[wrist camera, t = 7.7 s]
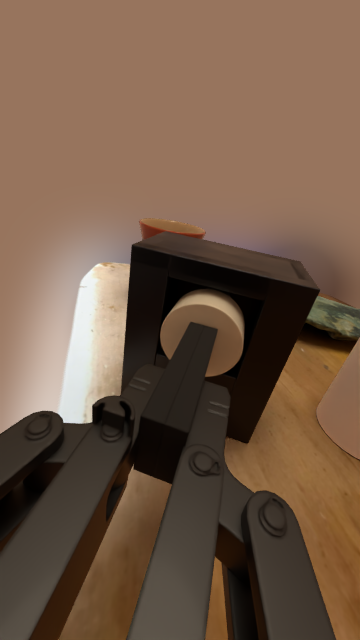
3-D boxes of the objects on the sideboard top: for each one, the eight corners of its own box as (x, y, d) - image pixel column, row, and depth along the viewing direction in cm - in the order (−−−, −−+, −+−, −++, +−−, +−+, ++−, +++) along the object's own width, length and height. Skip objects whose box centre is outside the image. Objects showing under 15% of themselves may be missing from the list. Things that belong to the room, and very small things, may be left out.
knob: (155, 363, 15) (165, 293, 13) (181, 318, 21) (192, 264, 18) (230, 386, 14) (254, 317, 12) (236, 333, 20) (254, 279, 18)
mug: (200, 309, 36) (217, 236, 31) (140, 311, 32) (149, 229, 28) (173, 278, 45) (182, 218, 40) (124, 277, 42) (128, 211, 37)
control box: (120, 399, 19) (131, 244, 14) (148, 356, 25) (165, 230, 19) (248, 443, 18) (320, 289, 12) (249, 388, 23) (301, 261, 17)
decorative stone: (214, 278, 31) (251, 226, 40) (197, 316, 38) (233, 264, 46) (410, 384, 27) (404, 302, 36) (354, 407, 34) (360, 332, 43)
